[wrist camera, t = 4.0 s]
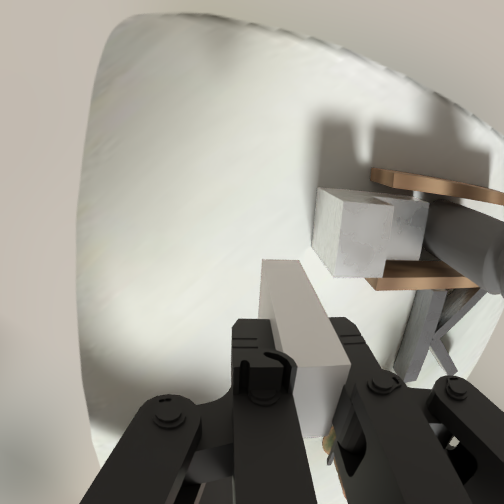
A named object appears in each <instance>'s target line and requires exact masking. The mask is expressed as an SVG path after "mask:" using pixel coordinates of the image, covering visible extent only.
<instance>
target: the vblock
mask: <svg viewBox="0 0 504 504" xmlns="http://www.w3.org/2000/svg"><path fill="white" fill-rule="evenodd" d="M447 292H448V291H447V290H446V289H424V290H417V292H416V296H415V299H414V303H413V307H412V310H411V314H410V317H409V321H408V324H407V327H406V331H405V334H404V337H403V340H402V343H401V346H400V349H399V352H398V355H397V358H396V361H395V364H394V366H393V369H394V370H395V372H396V373H397V375H398V376H399V377H400V378H401V379H402V380H403V381H404V383H405V382H411V381H416V379H417V377H418V375H419V372H420V370H421V367H422V365H423V362H424V360H425V357H426V355H427V352H428V349H430V351H431V352H432V354H433V356H434V357H435V359H436V360H437V362H438V364H439V365H440V366H441V368H442V369H443V370H444V371H445V373H446V374H447V375H450V376H453V375H454V374H455V373H456V372H457V369H456V367H455V365H454V363H453V361H452V359H451V358H450V356H449V354H448V352H447V350H446V349H445V347H444V345H443V343H442V341H441V340H440V338H441V337H442V336H443V335H444V334H446V333H447V332H448V331H449V330H450V329H451V328H452V327H453V326H454V325H455V324H456V323H457V322H458V321H459V320H460V319H461V318H462V317H463V316H464V315H465V314H466V313H467V312H468V311H469V310H470V309H471V308H472V307H473V306H474V305H475V304H476V303H477V302H478V301H479V300H480V299H481V298H482V297H483V296H484V295H485V294H486V293H487V291H485V290H484V289H482V288H481V287H473V288H456V289H455V290H454V291H453V292H452V293H450V294H449V295H448V296H447V297H446V295H447Z"/></svg>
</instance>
